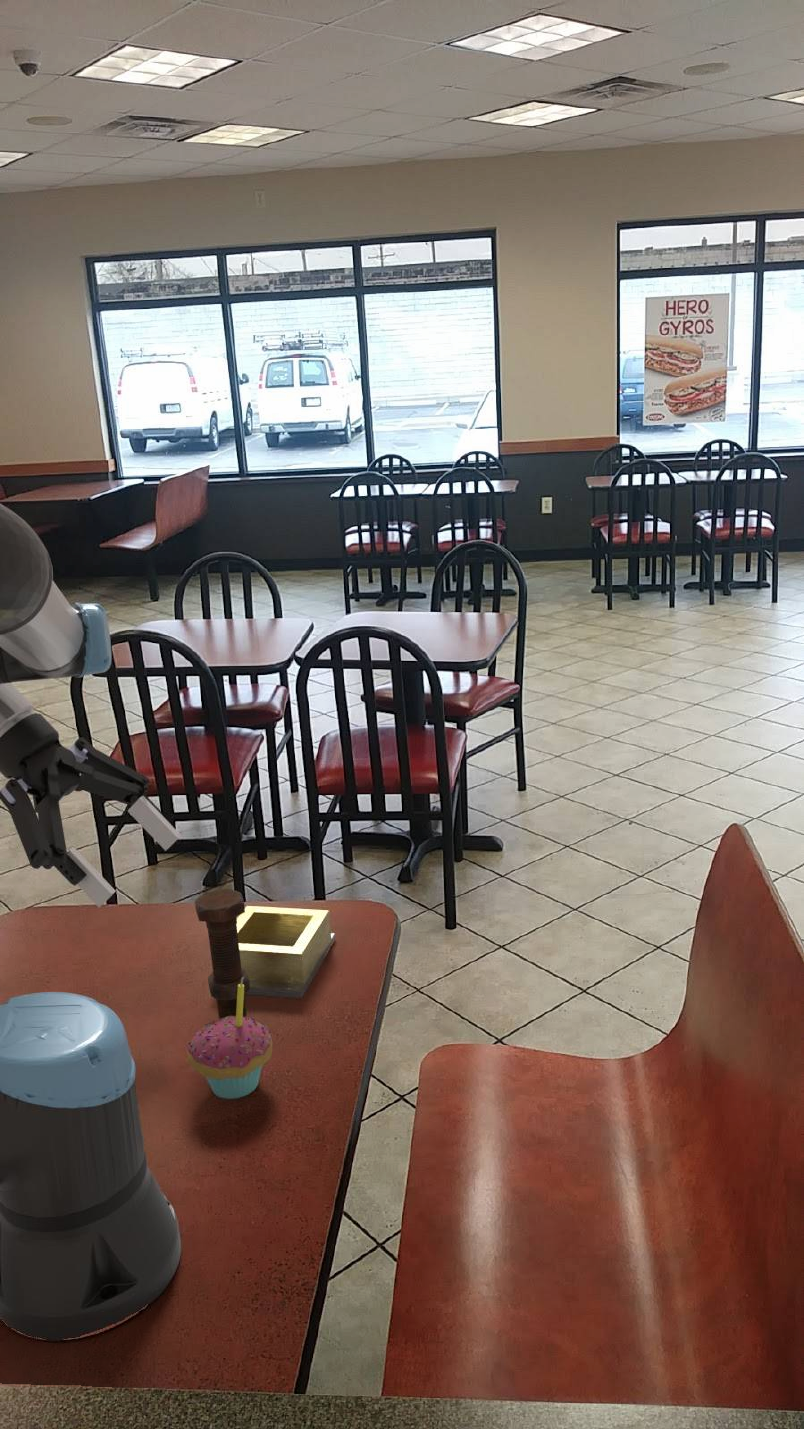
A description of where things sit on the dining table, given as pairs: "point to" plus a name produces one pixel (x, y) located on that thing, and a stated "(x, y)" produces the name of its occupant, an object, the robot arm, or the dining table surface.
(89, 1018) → the robot arm
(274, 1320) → the dining table surface
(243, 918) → the mount
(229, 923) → the bolt
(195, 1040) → the cupcake
